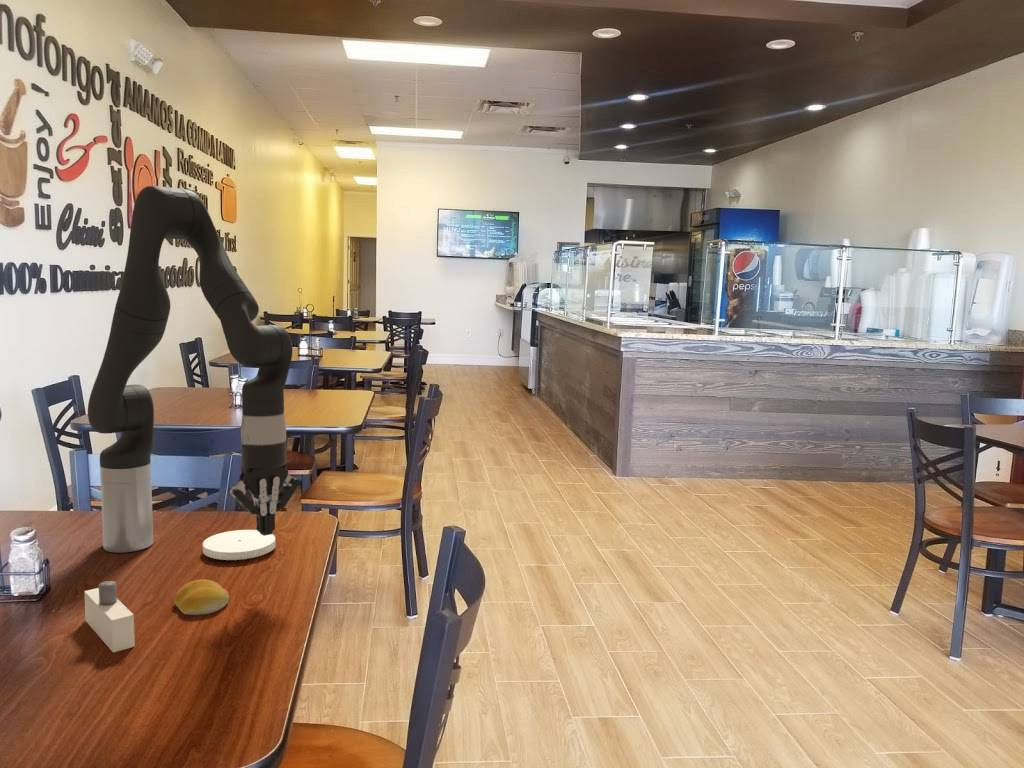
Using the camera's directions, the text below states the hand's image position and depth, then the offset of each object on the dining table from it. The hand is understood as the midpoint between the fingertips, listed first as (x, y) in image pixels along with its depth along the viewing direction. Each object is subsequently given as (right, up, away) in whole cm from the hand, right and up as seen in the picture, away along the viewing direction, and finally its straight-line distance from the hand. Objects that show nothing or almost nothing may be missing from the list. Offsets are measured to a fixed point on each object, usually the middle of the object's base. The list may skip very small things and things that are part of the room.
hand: (265, 533), depth 136 cm
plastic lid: (-12, -8, +20) cm, 24 cm away
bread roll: (-9, -11, -6) cm, 16 cm away
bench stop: (-19, -12, -18) cm, 28 cm away
